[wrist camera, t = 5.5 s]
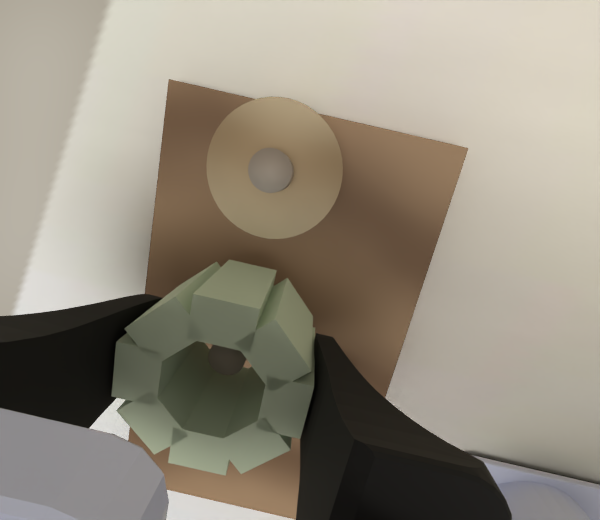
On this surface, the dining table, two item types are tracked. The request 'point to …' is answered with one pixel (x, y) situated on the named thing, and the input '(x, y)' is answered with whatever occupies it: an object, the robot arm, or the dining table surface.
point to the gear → (210, 384)
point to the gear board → (296, 238)
